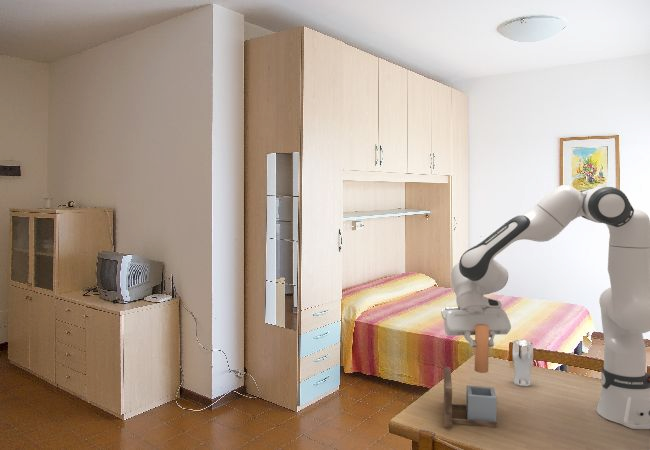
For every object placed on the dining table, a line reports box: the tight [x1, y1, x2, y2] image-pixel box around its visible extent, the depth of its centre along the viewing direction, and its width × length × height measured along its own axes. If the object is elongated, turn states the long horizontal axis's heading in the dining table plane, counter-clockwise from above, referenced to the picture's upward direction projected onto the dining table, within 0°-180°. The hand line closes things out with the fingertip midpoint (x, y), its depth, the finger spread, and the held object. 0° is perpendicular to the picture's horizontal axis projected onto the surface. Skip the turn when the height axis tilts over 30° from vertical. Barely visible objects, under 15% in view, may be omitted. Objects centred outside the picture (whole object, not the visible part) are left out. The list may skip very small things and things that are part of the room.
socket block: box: [465, 384, 498, 422], centre depth 155 cm, size 8×8×8 cm
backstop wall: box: [443, 366, 498, 429], centre depth 155 cm, size 15×18×12 cm
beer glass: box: [511, 339, 534, 387], centre depth 181 cm, size 7×7×15 cm
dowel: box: [474, 324, 490, 374], centre depth 153 cm, size 4×4×14 cm
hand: (482, 346), depth 153 cm, fingers closed on dowel, 4 cm apart
